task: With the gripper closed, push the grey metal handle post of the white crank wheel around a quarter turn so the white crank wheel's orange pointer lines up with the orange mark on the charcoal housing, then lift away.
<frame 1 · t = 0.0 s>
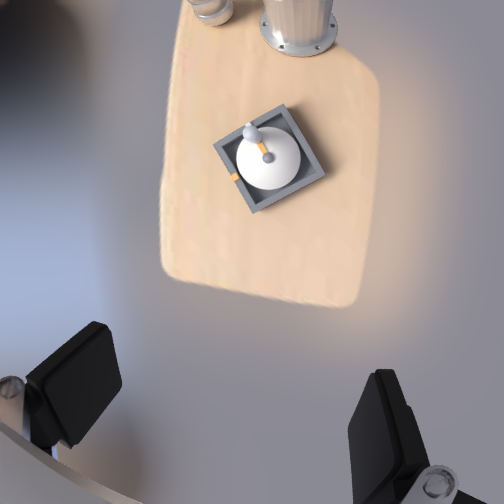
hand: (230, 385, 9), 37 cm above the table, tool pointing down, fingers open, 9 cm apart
plastic bottle: (218, 16, 36), on the table
housing: (270, 159, 42), on the table
white crank wheel: (266, 157, 38), point 5 cm above the table, hinge at 0.0°
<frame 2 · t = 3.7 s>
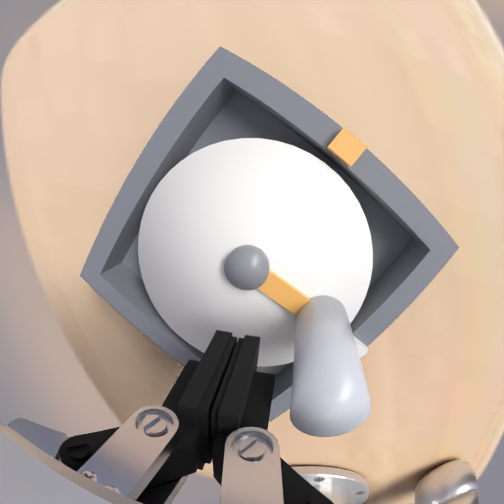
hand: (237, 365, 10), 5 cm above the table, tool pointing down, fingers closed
plastic bottle: (439, 469, 17), on the table
housing: (259, 245, 14), on the table
white crank wheel: (239, 281, 9), point 5 cm above the table, hinge at 2.8°, touching gripper
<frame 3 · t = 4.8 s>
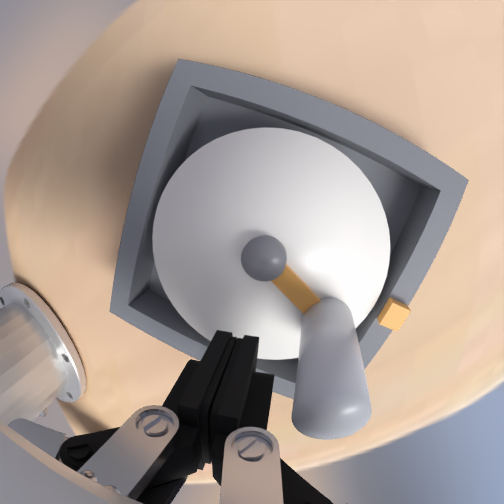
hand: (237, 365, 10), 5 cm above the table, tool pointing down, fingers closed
housing: (274, 237, 13), on the table
white crank wheel: (257, 271, 9), point 5 cm above the table, hinge at 67.0°, touching gripper
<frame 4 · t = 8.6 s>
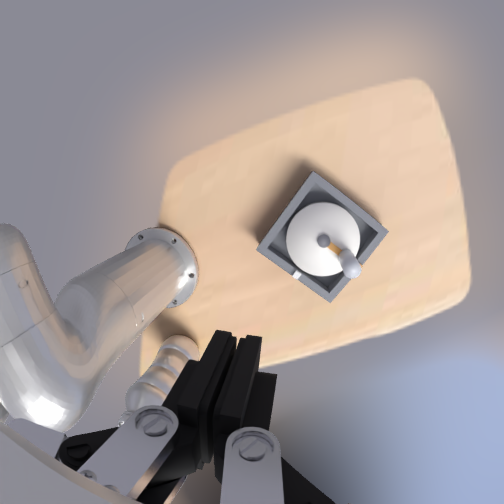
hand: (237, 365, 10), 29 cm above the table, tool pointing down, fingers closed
plastic bottle: (185, 345, 46), on the table
housing: (321, 235, 37), on the table
white crank wheel: (324, 243, 33), point 5 cm above the table, hinge at 91.3°
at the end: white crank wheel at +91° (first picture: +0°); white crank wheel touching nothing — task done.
